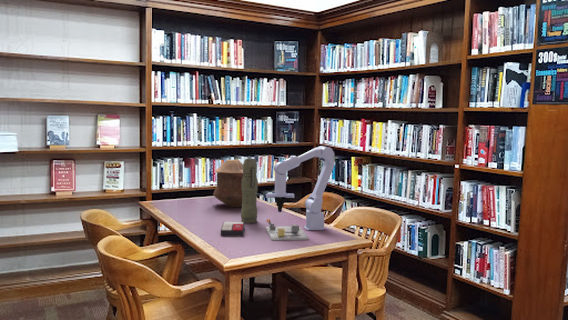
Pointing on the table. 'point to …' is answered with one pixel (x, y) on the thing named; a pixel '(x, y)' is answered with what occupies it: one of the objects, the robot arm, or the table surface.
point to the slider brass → (281, 232)
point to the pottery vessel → (229, 183)
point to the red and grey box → (232, 229)
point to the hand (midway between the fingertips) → (279, 211)
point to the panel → (286, 233)
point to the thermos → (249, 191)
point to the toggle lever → (269, 222)
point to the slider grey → (294, 228)
